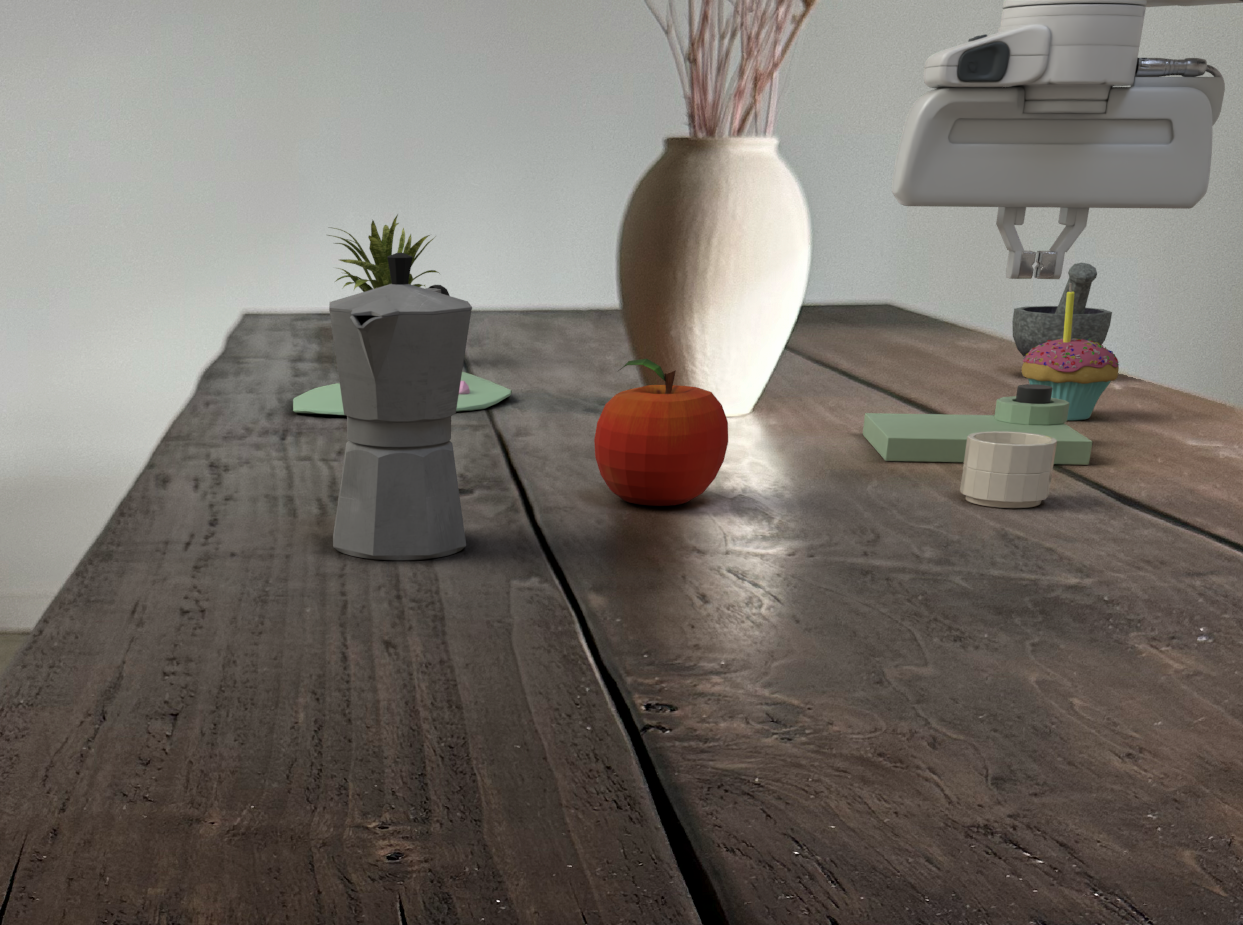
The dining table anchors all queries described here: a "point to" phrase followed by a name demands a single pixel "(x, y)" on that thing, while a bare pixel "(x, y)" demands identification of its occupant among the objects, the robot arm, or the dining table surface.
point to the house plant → (380, 257)
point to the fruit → (661, 441)
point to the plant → (470, 397)
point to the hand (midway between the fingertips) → (1032, 278)
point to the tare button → (1034, 394)
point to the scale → (949, 432)
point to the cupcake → (1072, 368)
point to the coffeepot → (399, 418)
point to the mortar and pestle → (1062, 315)
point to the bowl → (1007, 469)
